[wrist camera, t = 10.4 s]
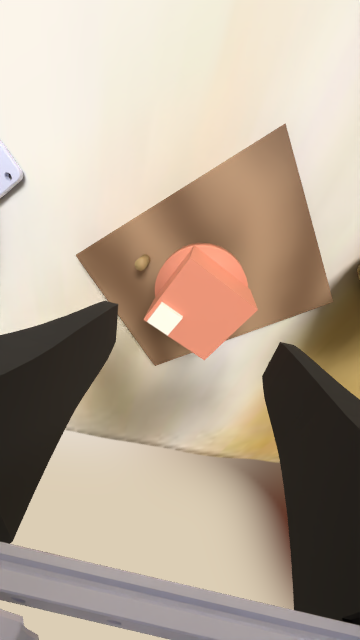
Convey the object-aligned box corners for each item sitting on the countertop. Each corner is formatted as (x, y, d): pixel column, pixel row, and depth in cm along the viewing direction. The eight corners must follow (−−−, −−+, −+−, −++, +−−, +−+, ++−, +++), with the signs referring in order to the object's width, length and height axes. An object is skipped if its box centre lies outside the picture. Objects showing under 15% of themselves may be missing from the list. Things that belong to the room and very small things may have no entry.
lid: (265, 280, 15) (282, 310, 12) (207, 338, 18) (206, 377, 14) (193, 222, 14) (186, 233, 10) (142, 293, 17) (122, 323, 13)
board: (157, 359, 23) (151, 376, 21) (81, 252, 19) (64, 260, 17) (327, 296, 18) (342, 310, 16) (280, 127, 14) (293, 116, 12)
